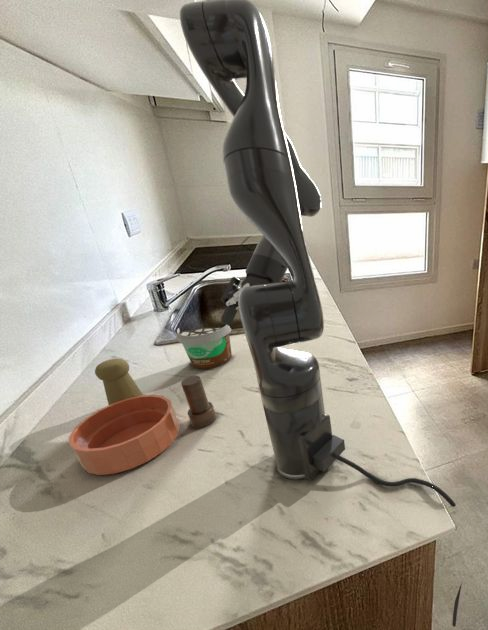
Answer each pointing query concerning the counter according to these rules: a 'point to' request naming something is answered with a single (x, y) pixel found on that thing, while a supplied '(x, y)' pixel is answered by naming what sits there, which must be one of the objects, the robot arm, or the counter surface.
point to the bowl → (124, 434)
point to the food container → (206, 346)
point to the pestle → (198, 402)
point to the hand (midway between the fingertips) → (241, 328)
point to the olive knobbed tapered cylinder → (117, 380)
